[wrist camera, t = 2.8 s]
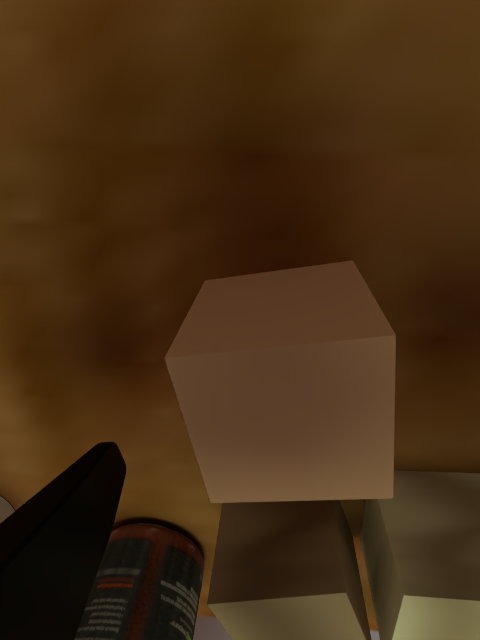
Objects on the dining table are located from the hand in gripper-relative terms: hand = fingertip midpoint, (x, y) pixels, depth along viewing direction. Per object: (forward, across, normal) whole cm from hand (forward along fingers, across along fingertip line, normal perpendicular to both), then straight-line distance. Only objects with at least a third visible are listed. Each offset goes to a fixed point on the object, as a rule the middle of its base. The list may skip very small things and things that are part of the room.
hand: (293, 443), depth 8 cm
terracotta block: (+5, 0, 0) cm, 5 cm away
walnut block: (+5, +1, +10) cm, 11 cm away
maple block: (+5, -5, +10) cm, 12 cm away
